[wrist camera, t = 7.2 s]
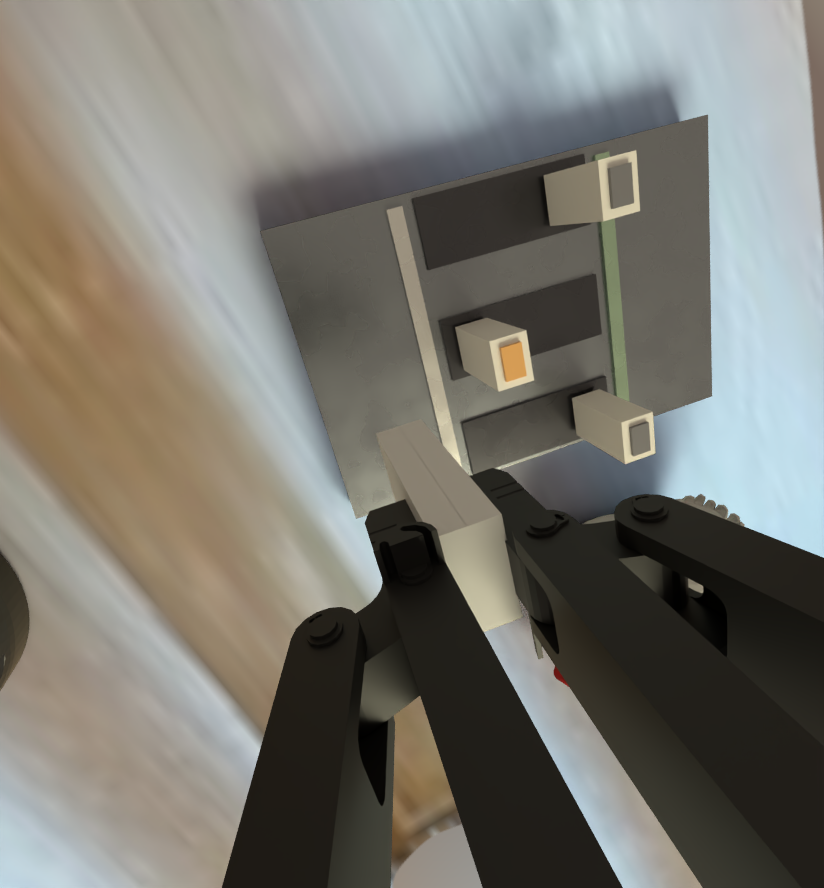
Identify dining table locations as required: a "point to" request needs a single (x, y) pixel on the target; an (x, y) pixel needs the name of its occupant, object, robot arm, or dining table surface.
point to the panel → (501, 306)
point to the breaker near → (593, 191)
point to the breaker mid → (495, 353)
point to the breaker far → (614, 425)
